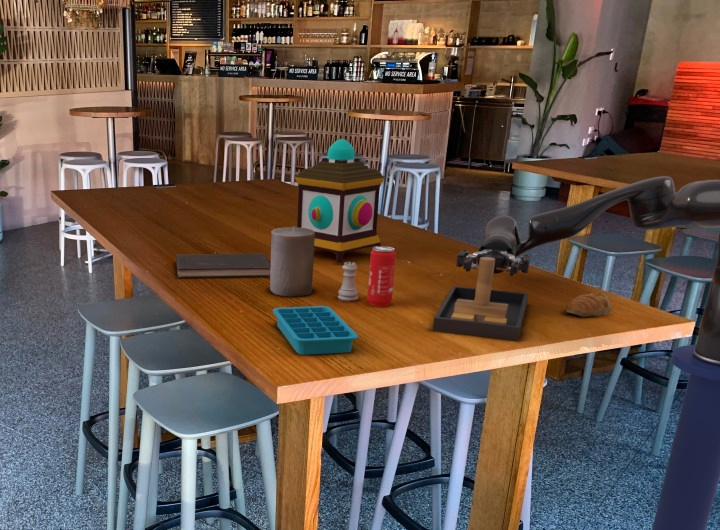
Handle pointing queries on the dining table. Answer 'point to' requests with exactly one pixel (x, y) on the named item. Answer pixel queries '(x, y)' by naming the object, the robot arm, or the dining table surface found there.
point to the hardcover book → (222, 265)
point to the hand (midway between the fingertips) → (489, 268)
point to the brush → (482, 295)
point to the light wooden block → (463, 316)
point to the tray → (508, 331)
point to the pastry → (589, 305)
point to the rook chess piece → (348, 283)
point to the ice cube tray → (315, 330)
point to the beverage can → (381, 276)
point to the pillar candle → (292, 261)
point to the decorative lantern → (340, 201)
